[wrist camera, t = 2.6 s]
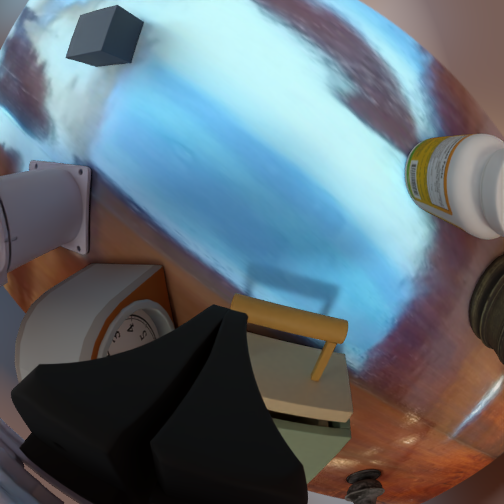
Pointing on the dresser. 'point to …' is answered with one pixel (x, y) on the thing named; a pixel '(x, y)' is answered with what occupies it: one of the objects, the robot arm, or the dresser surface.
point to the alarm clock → (94, 316)
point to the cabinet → (314, 442)
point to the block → (105, 37)
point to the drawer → (298, 363)
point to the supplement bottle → (460, 181)
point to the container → (490, 308)
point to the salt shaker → (364, 487)
